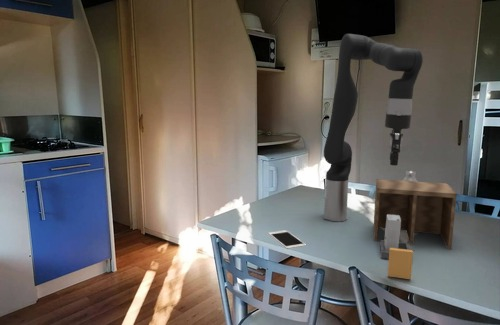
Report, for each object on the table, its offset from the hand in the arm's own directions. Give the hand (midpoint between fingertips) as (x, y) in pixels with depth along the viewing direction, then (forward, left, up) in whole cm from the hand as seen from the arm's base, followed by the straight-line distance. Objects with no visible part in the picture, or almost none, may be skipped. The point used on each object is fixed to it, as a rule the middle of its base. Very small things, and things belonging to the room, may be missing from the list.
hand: (393, 162), depth 120 cm
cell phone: (-35, -2, -30) cm, 46 cm away
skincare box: (+1, -2, -30) cm, 30 cm away
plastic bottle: (+10, +42, -30) cm, 53 cm away
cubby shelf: (+8, +14, -30) cm, 34 cm away
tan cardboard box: (+2, -10, -30) cm, 31 cm away
